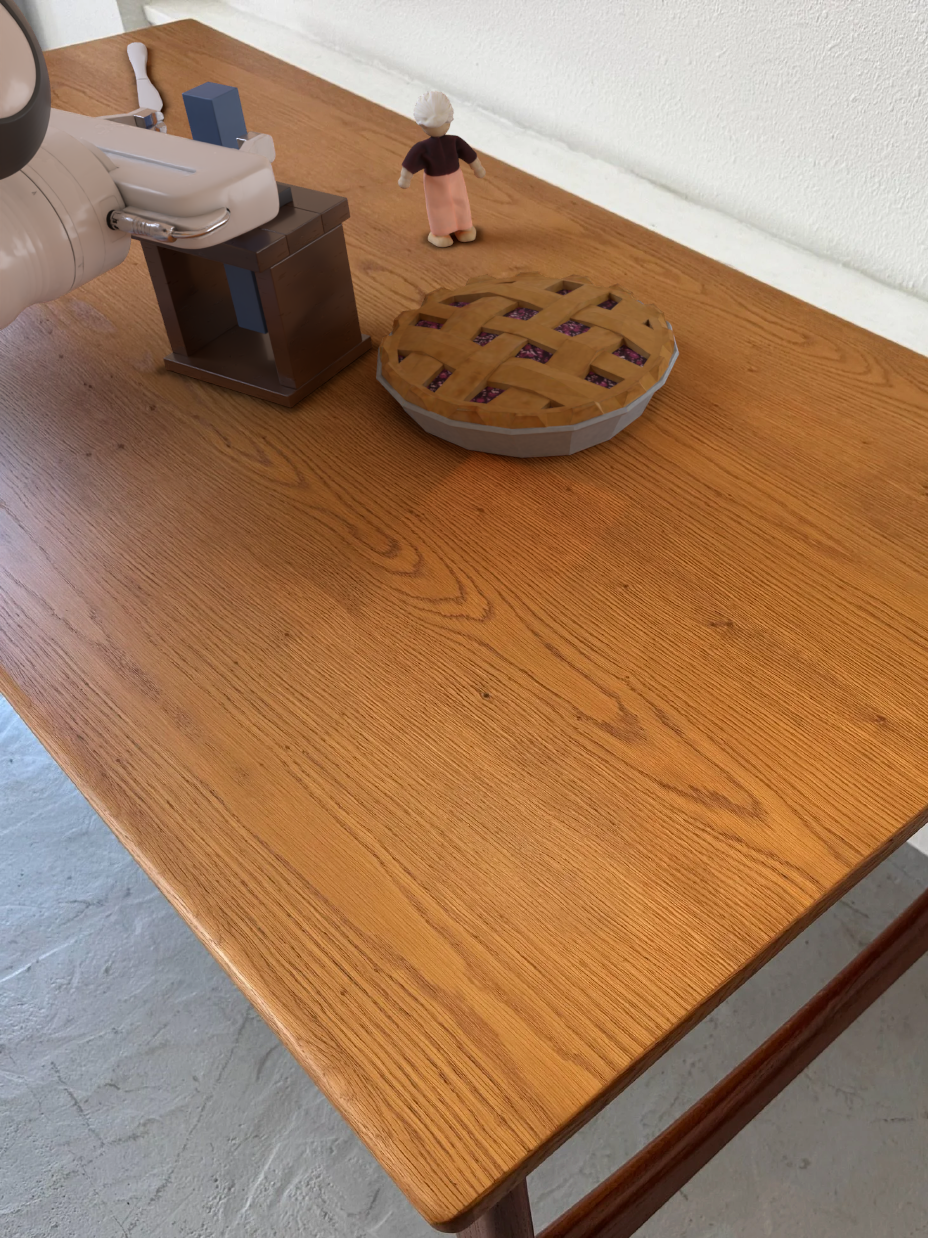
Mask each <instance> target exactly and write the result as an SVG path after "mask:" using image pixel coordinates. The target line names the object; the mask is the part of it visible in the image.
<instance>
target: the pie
mask: <svg viewBox="0 0 928 1238" xmlns="http://www.w3.org/2000/svg"><path fill="white" fill-rule="evenodd" d="M679 355H680V352H679V348H678V344H677V340H676V338H675V334H674V330H673V327H672V324H671V323H670V322H669V321H668V320H667V319H666V316H665V312H663V310H662V309H660V307H658V306H657V305H656V304H655V303H643V302H642V301H641V300H639V299H637V297H636V296H635V295H634V292H632V291H631V290H629V289H627V288H626V287H624V286H622V285H621V284H619V283H615V284H612V285H611V286H608V287H607V286H602V285H597V284H595V283H594V282H593V281H592V279H591V278H590V276H588V275H580V274H570V275H568V276H565V277H562V278H557V277H550V276H545V275H544V274H541V273H540V271H519V272H518V273H516V274H515V275H513V276H510V277H509V276H508V277H500V278H496V277H495V276H492V275H490V274H488V273H486V274H482V275H478V276H474V277H470V278H468V279H467V281H466V283H465V285H463V286H460V287H458V288H455V289H448V288H445V287H442V286H441V287H438V288H437V289H436V288H435V290H433V291H430V292H428V293H427V294H425V296H424V298H423V301H422V303H421V305H420V307H418V308H415V309H409V310H403V311H401V312H400V313H399V314H398V315H397V316H396V317H395V318H394V319H393V323H392V330H391V332H390V333H389V334H388V335H383V337H382V339H381V341H380V344H379V346H378V348H377V359H376V362H377V363H376V374H375V375H376V376H375V379H376V380H377V381H378V382H379V383H380V384H381V386H383V387H384V389H385V390H386V391H387V392H388V393H389V394H390V395H391V396H392V397H393V398H394V399H395V400H396V401H397V402H398V403H399V405H400V406H401V407H402V409H403V410H404V412H405V413H406V414H408V416H409V417H410V418H411V419H412V420H414V421H415V422H416V423H417V424H418V425H419V427H421V428H422V429H423V430H424V432H426V433H428V434H431V435H433V436H435V437H437V438H440V439H442V440H444V441H447V442H449V443H451V444H454V445H456V446H459V447H460V448H463V449H465V450H468V451H474V452H481V453H488V454H493V455H500V456H508V457H513V458H514V457H515V458H524V459H525V458H541V457H556V456H557V457H558V456H570V455H573V454H575V453H578V452H581V451H585V450H587V449H589V448H592V447H594V446H596V445H599V444H602V443H604V442H607V441H610V440H611V439H613V437H615V436H616V435H618V434H619V433H620V432H622V431H623V430H624V429H625V428H626V427H628V426H630V424H632V423H633V422H634V421H636V420H637V419H639V418H640V417H641V416H642V415H643V413H644V411H645V410H646V408H647V406H648V405H649V402H650V401H651V400H652V397H653V395H654V394H655V393H656V392H657V391H658V390H660V389H661V388H662V387H663V386H664V385H665V383H666V382H667V379H668V377H669V375H670V374H671V371H672V370H673V367H674V365H675V363H676V361H677V359H678V357H679Z"/></svg>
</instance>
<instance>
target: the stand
mask: <svg viewBox="0 0 928 1238" xmlns="http://www.w3.org/2000/svg"><path fill="white" fill-rule="evenodd" d="M276 184H280V185H284V186H288V187H290V188H291V192H292V197H293V201H291V202H289V203H287V204H286V205H284V206H282V207H280V208H279V212H278V214H277V216H276V217H275V218H274V219H272V220H270V221H269V222H267V223H265V224H263V225H261V226H259V227H257V228H254V229H252V230H250V231H248V232H246V233H244V234H241V235H239V236H237V237H235V238H232V239H230V240H228V241H225V242H222V243H220V244H217V245H214V246H210V247H206V248H200V249H185V248H179V247H174V246H171V245H167V244H163V243H159V242H156V241H152V240H148V239H144V238H140V237H137V236H133V235H131V240H135V241H138V242H139V243H140V246H141V250H142V253H143V255H144V256H143V257H144V261H145V263H146V267H147V270H148V273H149V276H150V280H151V284H152V287H153V288H152V289H153V291H154V294H155V298H156V301H157V305H158V308H159V312H160V314H161V318H162V321H163V325H164V329H165V332H166V335H167V339H168V342H169V343H168V344H169V346H170V350H171V352H170V353H169V354H167V355H166V356H164V357H162V358H163V362H164V366H165V369H166V370H167V371H170V372H174V373H177V374H180V375H184V376H186V377H190V378H193V379H196V380H200V381H203V382H206V383H209V384H213V385H216V386H219V387H222V388H225V389H228V390H232V391H235V392H239V393H242V394H244V395H248V396H251V397H254V398H257V399H261V400H264V401H268V402H271V403H273V404H277V405H280V406H283V407H286V408H290V409H291V408H293V407H294V406H295V405H297V404H298V403H300V402H301V401H302V400H303V399H305V398H307V397H308V396H309V395H310V394H312V393H313V392H315V391H316V390H317V389H319V388H320V387H321V386H322V385H323V384H325V383H326V382H328V381H329V380H330V379H332V378H333V377H335V376H336V375H337V374H338V373H340V372H341V371H342V370H343V369H345V368H346V367H348V366H349V365H350V364H352V363H353V362H354V361H356V360H357V359H359V358H360V357H361V356H362V355H364V354H365V353H367V352H368V351H369V350H371V349H373V341H372V336H371V335H369V334H364V333H362V329H361V324H360V319H359V313H358V306H357V301H356V295H355V290H354V289H355V288H354V284H353V277H352V271H351V266H350V260H349V254H348V249H347V242H346V238H345V232H344V226H343V223H344V222H345V221H347V220H349V219H350V218H351V212H350V211H351V210H350V205H349V199H348V197H346V196H342V195H337V194H333V193H329V192H325V191H321V190H316V189H312V188H307V187H303V186H298V185H296V184H295V185H294V184H290V183H286V182H283V181H278V180H276ZM223 263H224V264H228V265H232V266H236V267H239V268H243V269H247V270H250V271H254V272H255V276H256V281H257V285H258V289H259V294H260V298H261V303H262V307H263V311H264V316H265V320H266V324H267V329H268V333H267V334H263V333H260V332H256V331H253V330H249V329H246V328H242V327H239V325H238V321H237V317H236V312H235V308H234V304H233V300H232V296H231V292H230V288H229V284H228V280H227V276H226V272H225V268H224V264H223Z"/></svg>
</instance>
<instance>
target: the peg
mask: <svg viewBox="0 0 928 1238" xmlns="http://www.w3.org/2000/svg"><path fill="white" fill-rule="evenodd" d="M181 97H182V101H183V105H184V109H185V113H186V117H187V120H188V125H189V129H190V130H189V131H190V134H191V138H192V140H196V141H201V142H205V143H210V144H214V145H219V146H223V147H227V148H234V149H237V150H239V147H238V143H237V138H238V137H240V136H242V135H244V134H247V133H248V129H247V125H246V120H245V115H244V111H243V107H242V102H241V96H240V92H239V88H238V87H236V86H231V85H226V84H222V83H218V82H213V81H206V82H204V83H201V84H199V85H197V86H194V87H193V88H190V89H188V90H185V91H184V92H182V93H181ZM277 189H278V196H279V208H280V207H282V206H284V205H286V204H287V203H289V202H291V201H293V197H292V192H291V188H290V187H288V186H284V185H280V184H277ZM223 264H224V263H223ZM224 268H225V272H226V276H227V280H228V284H229V288H230V292H231V296H232V300H233V304H234V308H235V312H236V317H237V321H238V325H239V327H242V328H246V329H249V330H253V331H256V332H260V333H263V334H267V333H268V329H267V324H266V320H265V316H264V311H263V307H262V303H261V298H260V294H259V289H258V285H257V281H256V276H255V272H254V271H250V270H247V269H243V268H239V267H236V266H232V265H228V264H224Z"/></svg>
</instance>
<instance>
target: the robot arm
mask: <svg viewBox="0 0 928 1238" xmlns="http://www.w3.org/2000/svg"><path fill="white" fill-rule="evenodd" d="M49 75H50V74H49V70H48V66H47V62H46V59H45V55H44V52H43V50H42V46H41V45H40V42H39V40H38V37H37V35H36V34H35V31H34V30H33V28H32V26H31V24H30V23H29V21H28V19H27V17H26V16H25V15H24V13H23V12H22V10H21V8H20V7H19V6H18V5H17V3H16V2H15V0H0V332H1V331H3V330H4V329H6V328H8V327H9V326H10V325H12V324H13V322H14V321H15V320H16V319H17V318H18V317H19V316H20V314H21V313H22V312H23V311H25V310H26V309H27V308H29V307H32V306H34V305H37V304H45V303H48V302H53V301H56V300H59V299H60V298H62V297H65V296H66V295H68V294H70V293H71V292H73V291H75V290H77V289H79V288H80V287H83V286H84V285H86V284H88V283H89V282H91V281H94V280H95V279H97V278H98V277H100V276H102V275H104V274H106V273H108V272H109V271H112V270H113V269H115V268H117V267H119V266H120V265H121V264H122V263H123V262H124V261H125V260H126V258H127V257H128V255H129V253H130V249H131V246H132V245H131V244H132V239H131V235H133V236H137V237H140V238H144V239H148V240H152V241H156V242H159V243H163V244H167V245H171V246H174V247H179V248H185V249H200V248H206V247H210V246H214V245H217V244H220V243H222V242H225V241H228V240H230V239H232V238H235V237H237V236H239V235H241V234H244V233H246V232H248V231H250V230H252V229H254V228H257V227H259V226H261V225H263V224H265V223H267V222H269V221H270V220H272V219H274V218H275V217H276V216H277V214H278V212H279V196H278V189H277V184H276V181H277V180H276V176H275V173H274V168H273V165H272V163H273V162H274V161H275V160H276V155H277V154H276V153H277V152H276V149H275V144H274V139H273V136H272V135H271V134H267V133H263V132H260V131H259V132H257V131H254V130H250V131H247V134H244V135H242V136H240V137H238V138H237V143H238V147H239V150H237V149H234V148H227V147H223V146H219V145H214V144H210V143H205V142H201V141H196V140H193V138H192V139H191V138H187V137H182V136H178V135H174V134H170V133H168V127H167V125H166V123H165V122H164V121H165V116H164V113H163V112H161V110H160V111H157V110H153V109H149V108H144V107H141V108H140V107H139V108H136V109H134V110H132V111H129V112H127V113H125V112H124V113H116V114H111V115H110V114H108V115H101V116H89V115H85V114H81V113H77V112H72V111H68V110H65V109H64V110H63V109H58V108H54V107H52V91H51V90H52V88H51V81H50V76H49Z"/></svg>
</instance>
